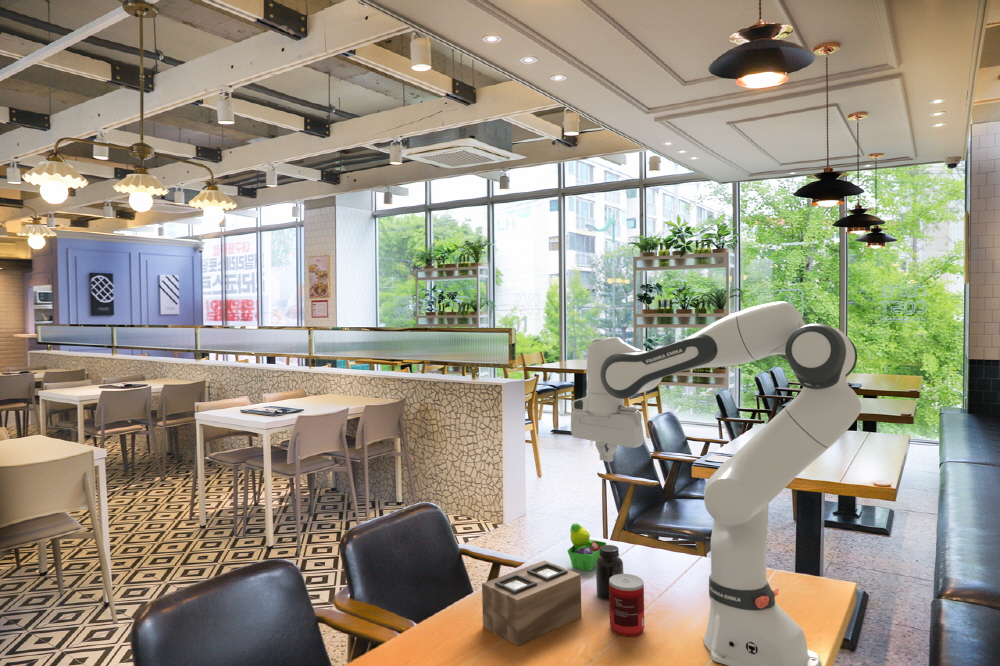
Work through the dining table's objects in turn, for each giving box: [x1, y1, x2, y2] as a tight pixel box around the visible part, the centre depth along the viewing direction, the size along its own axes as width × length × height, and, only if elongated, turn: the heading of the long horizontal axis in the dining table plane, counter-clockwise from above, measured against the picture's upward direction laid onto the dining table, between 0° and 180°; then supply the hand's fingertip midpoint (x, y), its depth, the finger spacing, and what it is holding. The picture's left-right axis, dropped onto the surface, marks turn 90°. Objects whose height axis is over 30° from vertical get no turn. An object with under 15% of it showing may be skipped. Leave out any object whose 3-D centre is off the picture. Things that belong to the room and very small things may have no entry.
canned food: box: [608, 573, 645, 638], centre depth 148 cm, size 8×8×11 cm
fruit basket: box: [567, 522, 608, 572], centre depth 187 cm, size 11×9×11 cm
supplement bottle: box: [595, 544, 624, 601], centre depth 166 cm, size 7×7×12 cm
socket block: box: [481, 560, 582, 647], centre depth 153 cm, size 12×20×11 cm, turn 131°
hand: (606, 460), depth 160 cm, fingers closed
